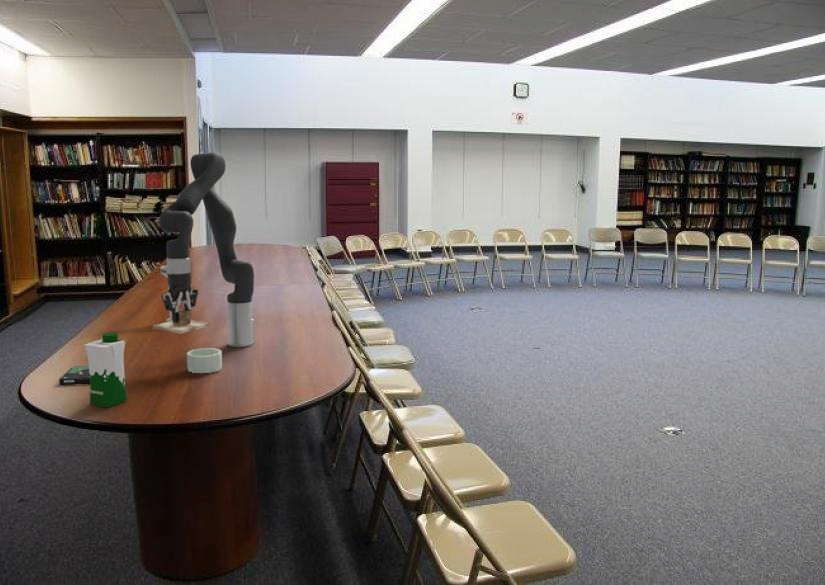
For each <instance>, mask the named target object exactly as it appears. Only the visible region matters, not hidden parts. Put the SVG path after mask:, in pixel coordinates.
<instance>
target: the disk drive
mask: <svg viewBox="0 0 825 585" xmlns="http://www.w3.org/2000/svg"><path fill="white" fill-rule="evenodd" d="M58 380H59V386H60V385H62V386H76V385H75V384H88V385H90V375H89V365H82V366H79V365H77V366H76V365H75V366H72V367H70V368H69V369H68V370H67V371H66V372H65V373H64V374H63V375H62V376H61V377H59V379H58Z"/></svg>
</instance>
